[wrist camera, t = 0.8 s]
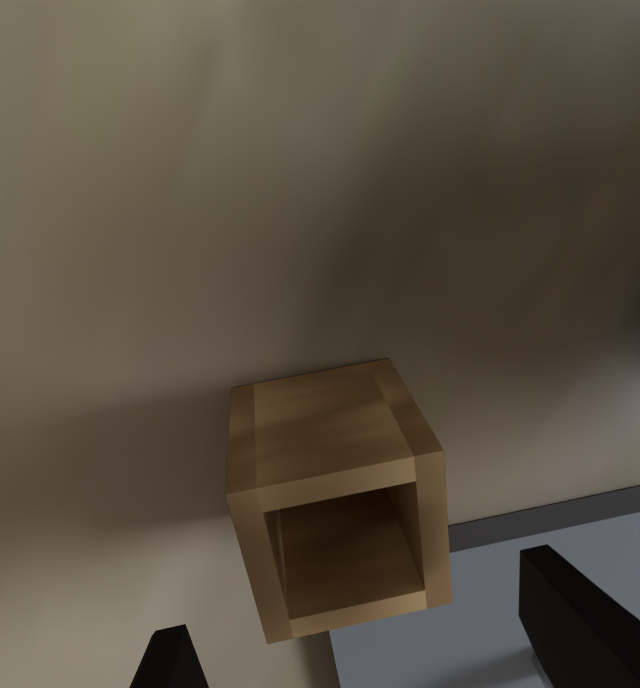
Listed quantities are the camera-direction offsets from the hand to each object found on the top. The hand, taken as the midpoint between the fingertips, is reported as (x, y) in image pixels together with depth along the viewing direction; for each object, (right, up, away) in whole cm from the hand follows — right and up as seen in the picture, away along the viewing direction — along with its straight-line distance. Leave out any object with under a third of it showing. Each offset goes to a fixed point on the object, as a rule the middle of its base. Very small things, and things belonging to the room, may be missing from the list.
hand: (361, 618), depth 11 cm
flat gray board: (+7, -6, +11) cm, 14 cm away
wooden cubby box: (-1, +3, +6) cm, 7 cm away
